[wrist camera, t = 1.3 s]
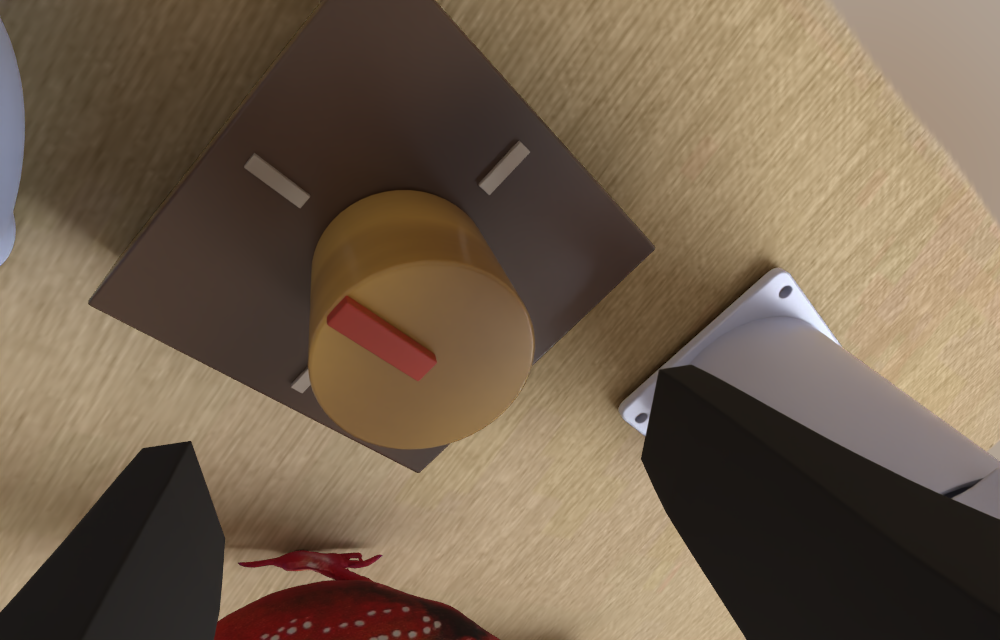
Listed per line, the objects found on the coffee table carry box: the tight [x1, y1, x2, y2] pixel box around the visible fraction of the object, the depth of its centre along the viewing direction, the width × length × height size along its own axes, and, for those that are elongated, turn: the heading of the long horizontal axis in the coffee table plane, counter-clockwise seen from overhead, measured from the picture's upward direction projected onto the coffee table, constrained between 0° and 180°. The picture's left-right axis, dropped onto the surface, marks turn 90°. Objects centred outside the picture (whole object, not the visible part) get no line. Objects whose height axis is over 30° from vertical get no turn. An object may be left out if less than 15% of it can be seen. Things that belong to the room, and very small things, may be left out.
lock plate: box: [88, 0, 655, 473], centre depth 15 cm, size 10×10×3 cm
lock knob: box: [308, 190, 535, 449], centre depth 13 cm, size 4×4×4 cm
